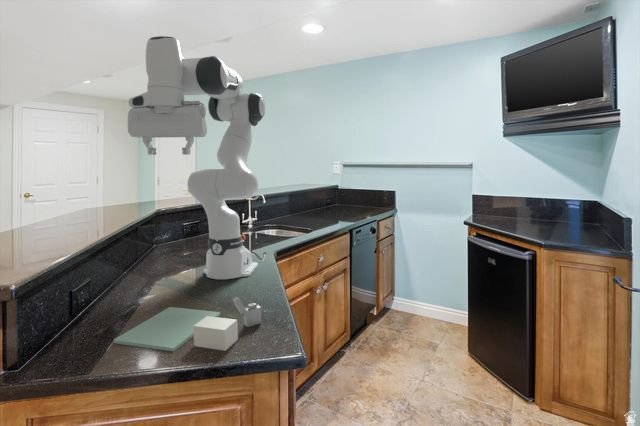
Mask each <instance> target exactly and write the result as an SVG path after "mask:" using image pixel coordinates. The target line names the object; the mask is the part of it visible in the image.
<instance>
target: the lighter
mask: <svg viewBox="0 0 640 426" xmlns="http://www.w3.org/2000/svg"><path fill="white" fill-rule="evenodd" d="M232 302H233V304H234V305H235V308H236V309H237V310H238V312H239V313H240V314H241V315H243V321H244V323H243V324H244V326H245V327H246V328H248V327H253V326H255V325H259V324H262V306H260V305H259V304H257V303H255V302H253V303H248V305H247V307H245V306H244V304H243V302H242V299H240V298H239V297H238V296H236V297H234V298H233V299H232Z"/></svg>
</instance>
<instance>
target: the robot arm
mask: <svg viewBox="0 0 640 426" xmlns="http://www.w3.org/2000/svg"><path fill="white" fill-rule="evenodd" d="M180 46H181V45H180V41H179V39H177V38H176V37H173V36H165V35H159V36H152V37H151V38H149V39H148V40H147V42H146V47H145V48H146V49H145V72H146V74H147V77H148V78H147V79H148V80H147V81H148V82H147V85H146V86H147V88H146V89H147V90H146V92H144V93H141V94H139V95H136V96H133V97H130V98H129V99H128V105H129V107H131V108H130V109H129V111H128V113H127V132H128V134H129V135H130V136H131V138H139V139H140V138H141V139H142V142H143V144H144V146H145V147H146V148H147V154H148V156H149V155H150V156H152V155H153V156H154V155H155V156H156V155H157V148H156V147H153V145H152V143H151V142H153V139H152V138H155V139H156V138H185V141H186V142H187V143H185V144H186V145H185V147H181V152H182V153H181V154H182V155H183V156H184V155H186V156H187V155H191V149H192V146H193V144H194V142H195V138H204V137H206V135H207V134H208V130H207V129H208V128H207V127H208V126H207V121H206V110H207V109H208V113H209V115H210V117H211V119H213V120H214V121H218V122H221V123H222V122H228V123H229V124H230V125H229V126H227V129H226V130H225V132H224V134H223V136H222V139H221V142H220V145H219V147H218V150H217V152H216V157H217V161H218V163H219V164H220V165H221V166H222V167H223V168H222V169H218V168H215V169H214V168H213V169H212V168H210V169H209V168H205V169H200V170H199V169H198V170H195V171H193V172H192V173H190V176H189V177H188V179H187V189H188V191H189V193H190V194H191V196H192V197H194V198H195V199H196V200H197V201H198V202H199V203H200V204H201V206H202V208H203V209H204V212H205V214H206V217H207V223H208V225H207V226H208V238H207V240H208V241H207V245H208V248H209V249H208V250H207V251H206V259H205V260H206V261H205V269H203V271H202V273H203V274H206V277H207V278H209V279H213V280H230V279H231V280H232V279H236V278H243V277H250V276H251V275H252V273H253V272H254V271H255V270H256V269H257V267H258V266H259V263H258V262H257V261H256V262H255V261H253V256H252V252H251V251H250V250H249V249H248V248H246V246H244V242H243V241H246V235H245V234H241V226H240V225H241V224H240V223H241V222H240V220H241V218H240V216H239V214H238V213H237V212H236V211H235V210H233V209H231V208H229V206H228V205H227V204H226V200H229V201H230V200H231V201H232V200H234V201H236V200H237V201H240V200H241V201H242V200H246V199H250V198H253V197H254V196H255V195H256V193H257V191H258V186H259V182H258V181H259V180H258V178H257V176H256V175H255V173H254V172H253V171H251V170H250V169H249V168H248V165H247V162H248V158H249V157H248V156H249V153H250V149H251V145H252V142H253V141H252V140H253V139H252V138H253V129H252V127H255V126H257V125H258V124H259V122H261V120H262V119H263V117H265V112H266V104H265V100H264V97H263V96H262V95H261V94H259V93H256V92H242V91H243V88H244V85H243V84H244V83H243V79H242V78H241V76H240V75H239V74H238V73H237V72H236V71H235V70H234V69H232V68H229V67H228V66H226V65H225V63H224V61H222V60H221V59H220V58H219V57H218V56H216V55H211V56H205V57H193V58H191V57H190V58H185V57H184V56H183V55H182V51H181V47H180ZM199 95H201V96H202V95H204V96H205V95H207V96H208V97H209V99H208V101H207V102H208V103H207V109H206V105H205V104H204V103H202V102H201V101H199V100H192V101H191V100H185V96H199Z"/></svg>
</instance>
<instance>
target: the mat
mask: <svg viewBox="0 0 640 426" xmlns="http://www.w3.org/2000/svg"><path fill="white" fill-rule="evenodd" d="M206 316H211V317H219V318H220V316H221V312H220V311H210V310H204V309H203V310H202V309H194V308H192V309H191V308H184V307H174V306H169V307H167V308H165V309H163V310H162V311H160V312H159V313H157V314H155V315H153V316H152V317H150V318H148V319H147V320H145V321H143V322H141V323H140V324H138V325H136V326H134V327H133V328H131V329H129V330H128V331H126V332H124V333H122V334H120V335H119V336H117V337H115V338H114V339H113V344H118V345H126V346H131V347H132V346H133V347H138V348H139V347H140V348H145V349H146V348H147V349H154V350H160V351H166V352H167V351H168V352H173V353H174V352H175V351H176V350H178V349H179V348H180V347H182V346H183V345H184V344H186V343H187V342H189V340H191V339H192V338H194V330H193V326H194V325H195V324H197V323H198V322H199V321H201V320H202V319H204V318H205V317H206Z"/></svg>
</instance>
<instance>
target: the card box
mask: <svg viewBox="0 0 640 426" xmlns="http://www.w3.org/2000/svg"><path fill="white" fill-rule="evenodd" d="M238 327H239V326H238V319H233V318H227V317H220V316H219V317H211V316H206V317H205V318H204V319H202V320H201V321H199V322H198V323H197V324H195V325H194V326H193V330H194V336H193V345H194V347H197V348H204V349H211V350H217V351H218V350H219V351H224V352H225V351H227V350H229V348H230V347H232V346H233V344H235V343H236V342H237V341H238V340H239V331H238Z"/></svg>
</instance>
